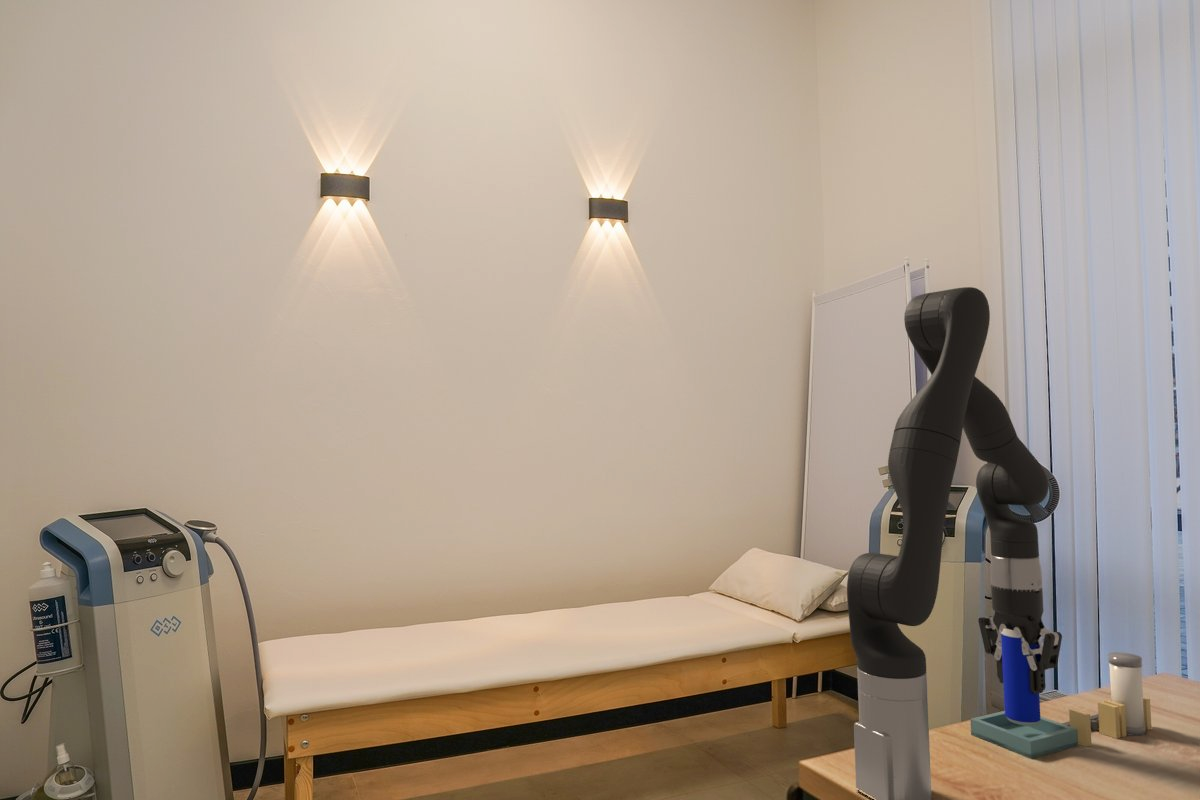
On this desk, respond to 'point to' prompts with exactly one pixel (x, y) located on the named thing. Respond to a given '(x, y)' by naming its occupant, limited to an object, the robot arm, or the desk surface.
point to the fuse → (1128, 689)
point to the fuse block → (1104, 720)
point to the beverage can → (1018, 682)
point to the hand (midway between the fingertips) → (1021, 687)
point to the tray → (1024, 735)
